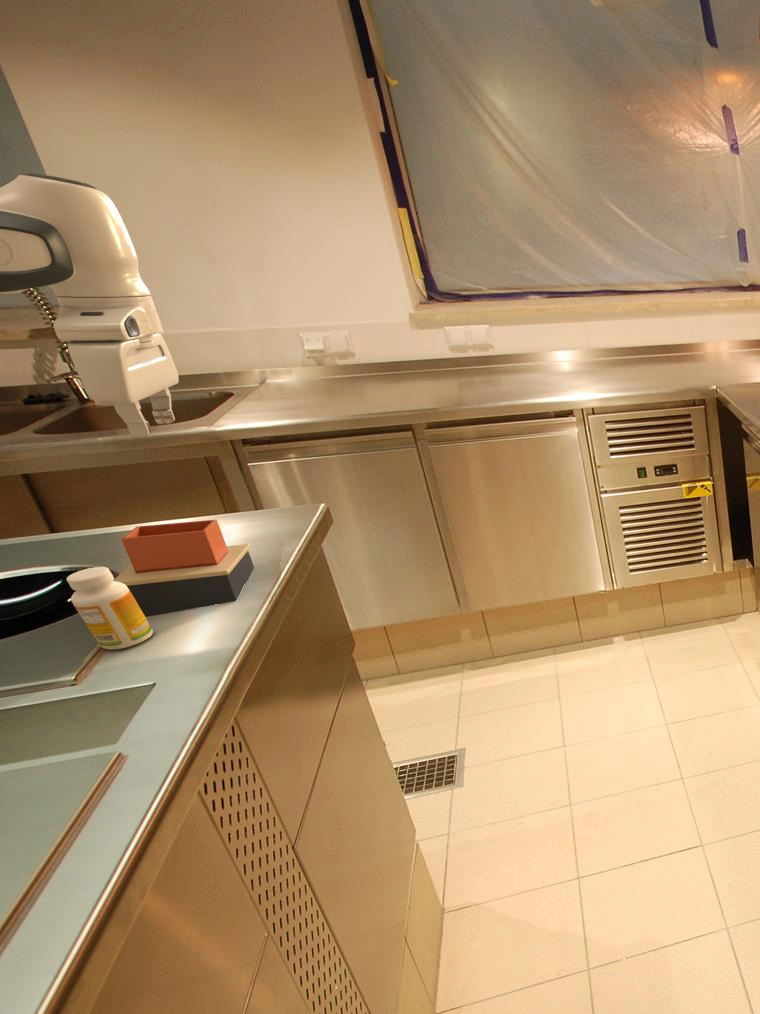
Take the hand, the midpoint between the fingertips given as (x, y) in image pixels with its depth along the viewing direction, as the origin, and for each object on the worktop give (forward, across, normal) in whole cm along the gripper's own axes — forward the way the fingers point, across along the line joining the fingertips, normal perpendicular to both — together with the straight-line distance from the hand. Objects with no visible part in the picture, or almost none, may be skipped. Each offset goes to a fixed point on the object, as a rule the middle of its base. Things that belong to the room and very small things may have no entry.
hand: (154, 429), depth 113 cm
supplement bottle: (+25, +14, -6) cm, 29 cm away
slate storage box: (+25, +1, -2) cm, 25 cm away
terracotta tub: (+19, +1, -2) cm, 19 cm away
